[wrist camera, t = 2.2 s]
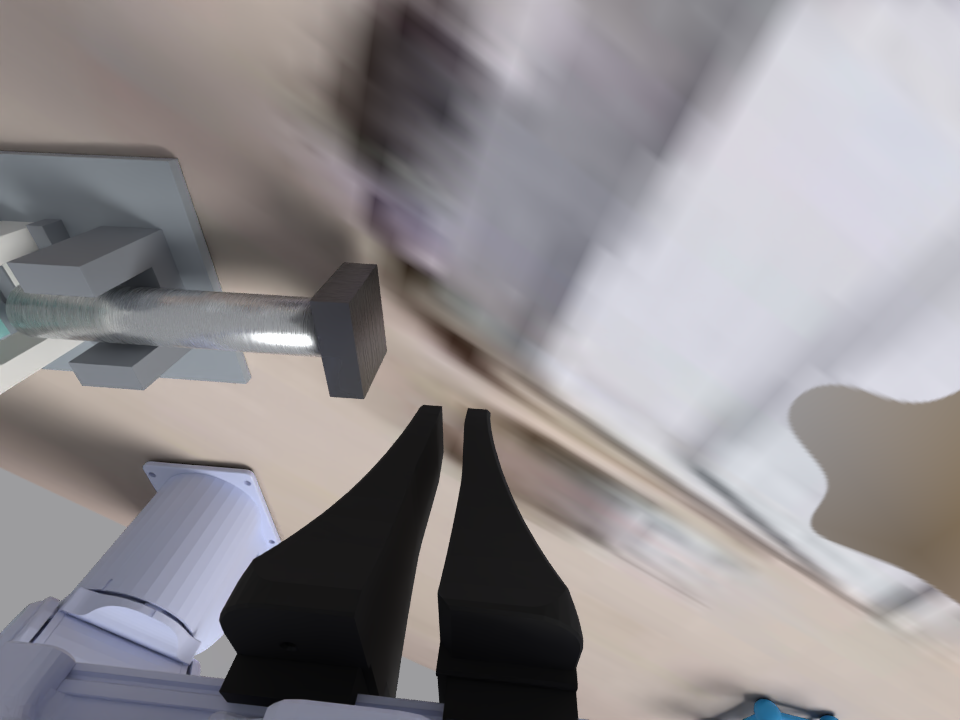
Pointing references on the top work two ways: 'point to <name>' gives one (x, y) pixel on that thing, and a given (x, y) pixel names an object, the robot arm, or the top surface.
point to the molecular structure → (775, 712)
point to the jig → (111, 254)
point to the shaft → (228, 322)
